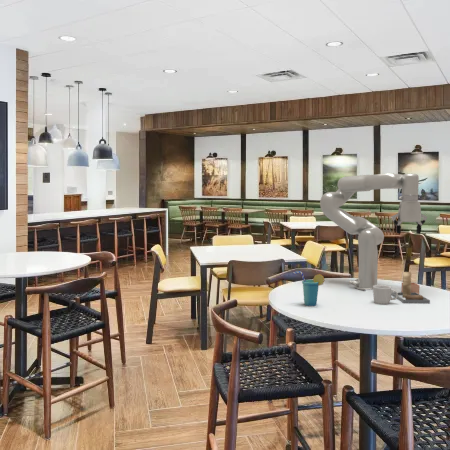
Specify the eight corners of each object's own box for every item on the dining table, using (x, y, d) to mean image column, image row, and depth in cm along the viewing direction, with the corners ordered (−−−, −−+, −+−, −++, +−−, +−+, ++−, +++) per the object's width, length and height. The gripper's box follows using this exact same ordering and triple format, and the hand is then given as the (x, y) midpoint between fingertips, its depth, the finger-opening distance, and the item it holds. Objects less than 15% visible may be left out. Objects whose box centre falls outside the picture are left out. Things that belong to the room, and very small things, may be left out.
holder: (406, 296, 227) (406, 284, 227) (401, 293, 234) (401, 282, 233) (419, 296, 227) (419, 285, 227) (414, 293, 233) (414, 282, 233)
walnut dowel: (407, 302, 211) (407, 295, 211) (405, 301, 214) (405, 295, 214) (423, 302, 211) (423, 295, 211) (420, 301, 214) (420, 295, 214)
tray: (403, 304, 210) (403, 299, 210) (390, 296, 226) (391, 292, 226) (429, 304, 210) (429, 300, 210) (415, 296, 226) (415, 292, 226)
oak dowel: (404, 298, 220) (404, 273, 219) (401, 296, 223) (402, 271, 222) (411, 298, 220) (412, 273, 219) (409, 296, 223) (409, 271, 222)
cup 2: (397, 303, 213) (397, 285, 212) (397, 307, 205) (398, 289, 205) (372, 301, 216) (373, 284, 216) (372, 305, 209) (372, 287, 208)
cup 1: (292, 305, 207) (292, 272, 206) (293, 301, 214) (293, 269, 213) (324, 307, 204) (324, 273, 203) (324, 303, 211) (324, 270, 210)
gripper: (394, 199, 225) (393, 234, 227) (430, 199, 225) (429, 234, 226) (389, 198, 233) (388, 232, 234) (424, 198, 233) (423, 232, 234)
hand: (408, 233), depth 230 cm, fingers open, 9 cm apart
